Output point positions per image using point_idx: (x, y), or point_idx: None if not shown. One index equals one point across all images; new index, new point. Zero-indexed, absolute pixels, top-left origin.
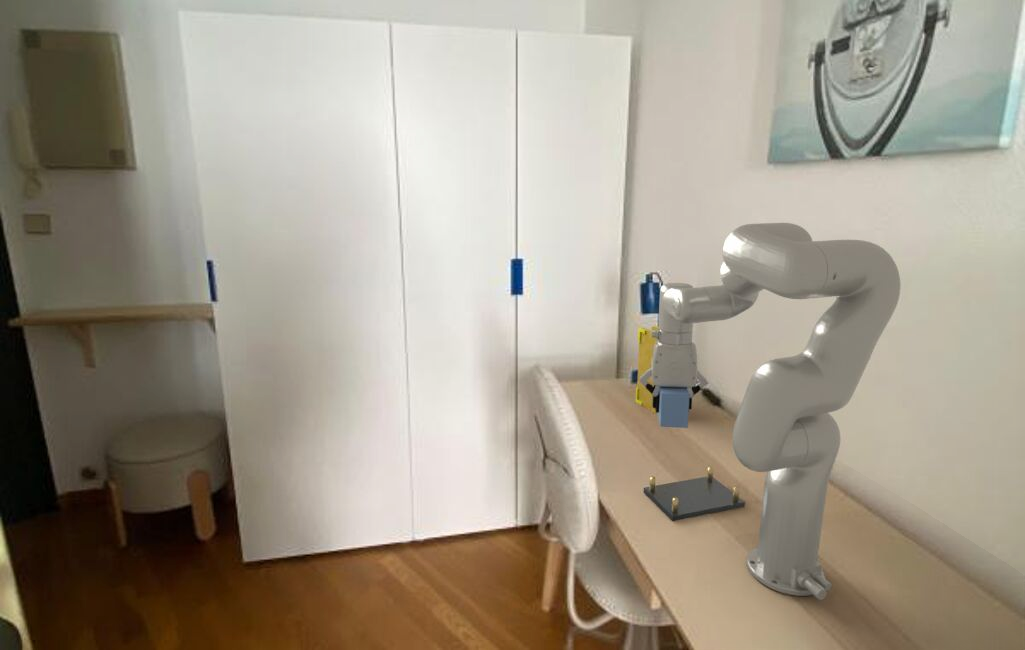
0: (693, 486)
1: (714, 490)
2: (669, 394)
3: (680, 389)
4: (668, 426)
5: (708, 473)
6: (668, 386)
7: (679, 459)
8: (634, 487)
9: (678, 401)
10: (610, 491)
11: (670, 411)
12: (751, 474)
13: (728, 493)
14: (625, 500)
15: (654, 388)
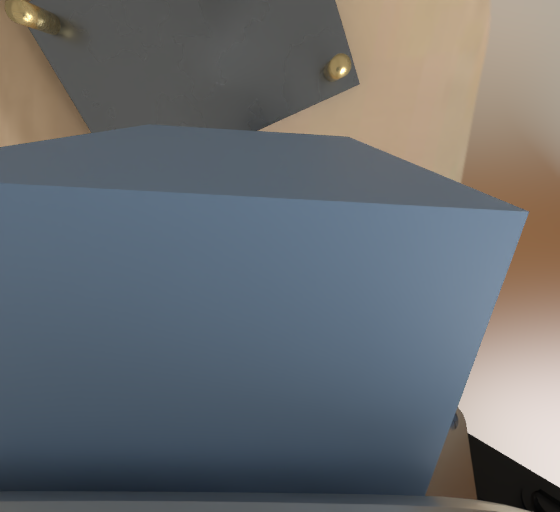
0: (188, 109)
1: (120, 86)
2: (338, 197)
3: (86, 441)
4: (289, 133)
5: None
6: (307, 499)
7: None
8: (378, 117)
9: (168, 161)
10: (463, 81)
11: (283, 147)
12: None
13: (73, 69)
14: (427, 20)
15: (467, 490)
